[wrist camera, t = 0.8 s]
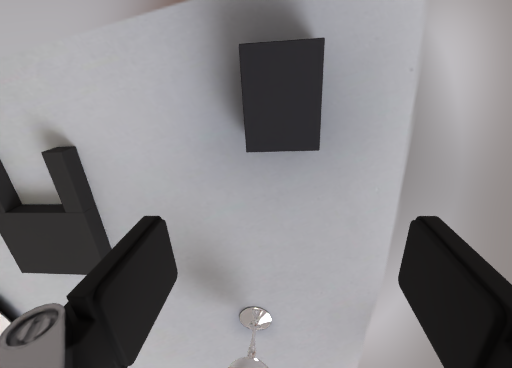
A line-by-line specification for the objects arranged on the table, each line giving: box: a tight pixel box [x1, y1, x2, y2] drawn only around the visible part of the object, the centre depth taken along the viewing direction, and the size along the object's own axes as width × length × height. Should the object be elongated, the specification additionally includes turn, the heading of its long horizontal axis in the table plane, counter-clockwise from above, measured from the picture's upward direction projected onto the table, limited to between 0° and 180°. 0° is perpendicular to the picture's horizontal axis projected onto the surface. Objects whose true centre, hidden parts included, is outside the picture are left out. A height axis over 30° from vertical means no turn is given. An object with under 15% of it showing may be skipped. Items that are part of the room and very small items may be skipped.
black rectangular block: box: [239, 38, 325, 152], centre depth 21 cm, size 8×6×4 cm
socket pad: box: [0, 147, 111, 275], centre depth 29 cm, size 16×12×2 cm
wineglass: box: [228, 307, 272, 368], centre depth 29 cm, size 6×6×12 cm
